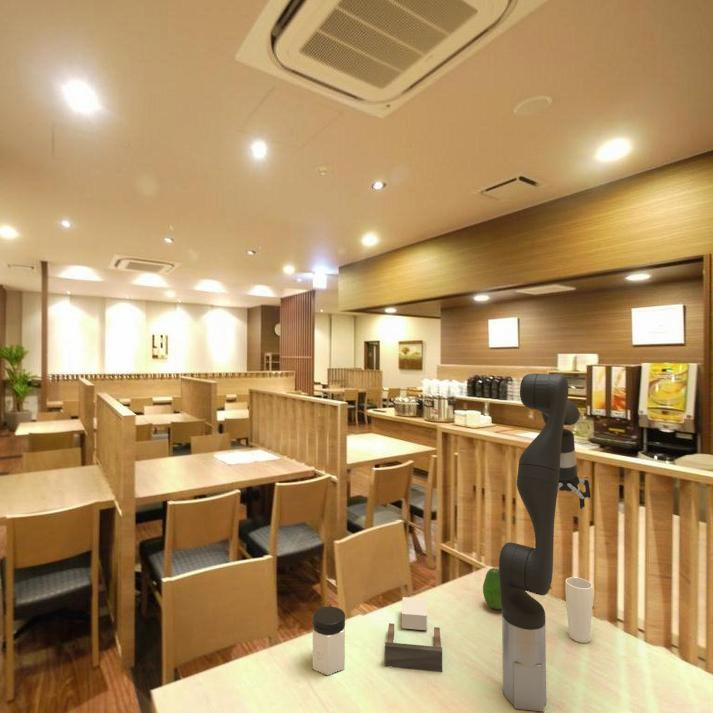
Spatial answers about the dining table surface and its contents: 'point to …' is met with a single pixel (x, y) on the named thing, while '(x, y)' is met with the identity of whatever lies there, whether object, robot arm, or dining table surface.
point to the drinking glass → (579, 608)
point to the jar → (328, 640)
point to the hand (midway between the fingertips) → (566, 506)
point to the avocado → (492, 589)
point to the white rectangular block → (414, 613)
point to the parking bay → (413, 653)
